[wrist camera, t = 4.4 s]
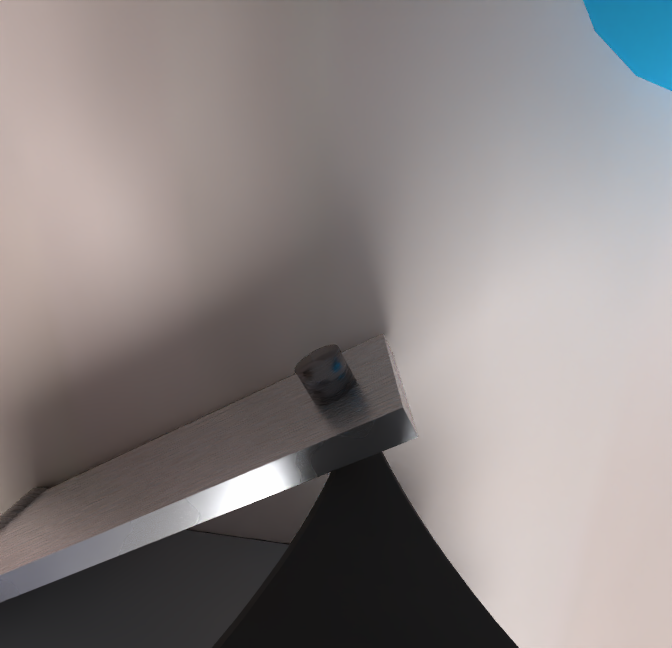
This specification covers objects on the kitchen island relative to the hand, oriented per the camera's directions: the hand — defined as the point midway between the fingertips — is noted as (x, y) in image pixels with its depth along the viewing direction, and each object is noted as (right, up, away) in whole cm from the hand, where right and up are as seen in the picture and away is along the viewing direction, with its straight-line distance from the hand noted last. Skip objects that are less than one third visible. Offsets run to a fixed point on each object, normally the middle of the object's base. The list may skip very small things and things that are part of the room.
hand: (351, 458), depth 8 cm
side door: (-5, 0, +1) cm, 5 cm away
